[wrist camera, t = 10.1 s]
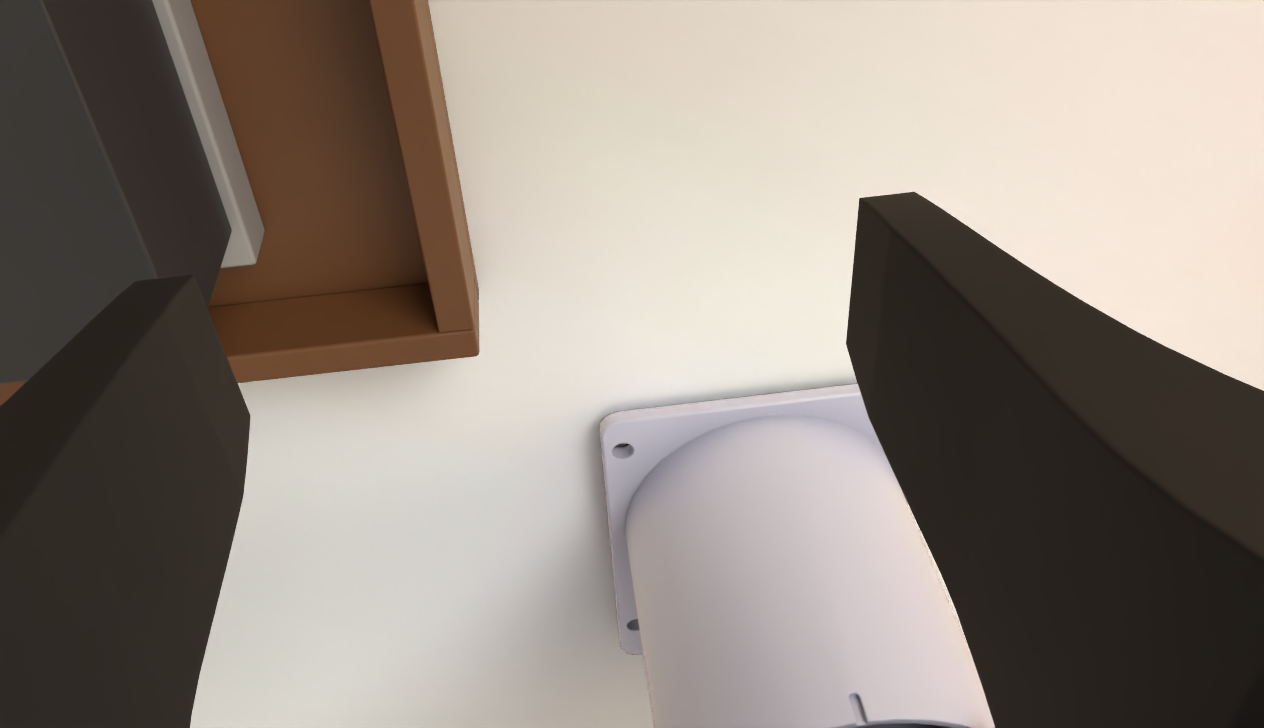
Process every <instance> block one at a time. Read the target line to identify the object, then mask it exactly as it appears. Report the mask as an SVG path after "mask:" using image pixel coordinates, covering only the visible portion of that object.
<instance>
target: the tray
mask: <svg viewBox="0 0 1264 728" xmlns="http://www.w3.org/2000/svg"><path fill="white" fill-rule="evenodd" d="M190 1H191V4H192V7H193V10H194V13H195V16H196V19H197V23H198V26H199V29H200V32H201V35H202V38H203V41H204V44H205V47H206V50H207V53H208V56H209V60H210V63H211V66H212V69H213V72H214V75H215V78H216V81H217V84H218V87H219V90H220V94H221V97H222V100H223V103H224V106H225V109H226V112H227V115H228V118H229V121H230V124H231V128H232V131H233V134H234V137H235V140H236V143H237V146H238V149H239V152H240V155H241V158H242V161H243V165H244V168H245V171H246V174H247V177H248V180H249V183H250V186H251V189H252V192H253V195H254V199H255V202H256V205H257V208H258V211H259V214H260V217H261V220H262V223H263V226H264V229H265V231H264V235H263V239H262V243H261V247H260V250H259V254H258V258H257V262H256V263H255V264H253V265H246V266H236V267H227V268H220V271H219V275H218V278H217V281H216V284H215V287H214V291H213V294H212V297H211V300H210V304H209V307H208V311H209V314H210V316H211V319H212V321H213V324H214V326H215V329H216V331H217V334H218V336H219V339H220V341H221V344H222V346H223V349H224V351H225V354H226V356H227V359H228V361H229V364H230V366H231V369H232V371H233V374H234V376H235V379H236V381H237V383H242V382H251V381H260V380H269V379H278V378H286V377H295V376H304V375H313V374H322V373H331V372H340V371H349V370H358V369H366V368H375V367H384V366H393V365H402V364H411V363H420V362H429V361H438V360H446V359H455V358H464V357H473V356H477V355H478V354H479V302H478V300H479V289H478V283H477V277H476V272H475V266H474V260H473V255H472V249H471V243H470V238H469V232H468V226H467V221H466V215H465V209H464V203H463V198H462V192H461V186H460V181H459V175H458V169H457V164H456V158H455V152H454V147H453V141H452V135H451V130H450V124H449V118H448V113H447V107H446V101H445V96H444V90H443V84H442V78H441V73H440V67H439V61H438V56H437V50H436V44H435V39H434V33H433V27H432V22H431V16H430V10H429V5H428V0H190ZM26 382H27V381H21V382H12V383H3V384H0V406H1V405H2V404H3V403H4V402H5V401H7V400H8V399H9V398H10V397H11V396H12V395H13V394H14V393H15V392H16V391H17V390H18V389H19V388H21V387H22V386H23V385H24V384H25V383H26Z"/></svg>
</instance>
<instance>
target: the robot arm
mask: <svg viewBox="0 0 1264 728" xmlns="http://www.w3.org/2000/svg"><path fill="white" fill-rule="evenodd" d="M846 345H847V348H848V352H849V355H850V359H851V362H852V365H853V369H854V372H855V376H856V379H857V383H858V384H850V385H842V386H833V387H824V388H816V389H807V390H799V391H790V392H781V393H773V394H764V395H756V396H747V397H739V398H730V399H721V400H713V401H704V402H696V403H687V404H678V405H670V406H661V407H653V408H644V409H635V410H627V411H619V412H615V413H611V414H609V415H608V416H606V417H605V418H604V419H603V420H602V422H601V423H600V439H601V450H602V461H603V471H604V482H605V492H606V503H607V514H608V524H609V535H610V545H611V556H612V567H613V577H614V588H615V598H616V609H617V620H618V630H619V640H620V647H621V649H622V650H623V651H624V652H626V653H628V654H632V655H638V654H643V655H644V662H645V669H646V675H647V682H648V689H649V696H650V702H651V709H652V716H653V722H654V728H1264V391H1262V390H1260V389H1258V388H1255V387H1253V386H1251V385H1248V384H1246V383H1243V382H1241V381H1239V380H1236V379H1234V378H1232V377H1229V376H1227V375H1225V374H1223V373H1220V372H1218V371H1216V370H1214V369H1212V368H1210V367H1208V366H1206V365H1203V364H1201V363H1199V362H1197V361H1195V360H1193V359H1191V358H1189V357H1187V356H1184V355H1182V354H1180V353H1178V352H1176V351H1174V350H1172V349H1170V348H1167V347H1165V346H1163V345H1161V344H1159V343H1158V342H1156V341H1154V340H1152V339H1150V338H1148V337H1146V336H1144V335H1142V334H1140V333H1138V332H1136V331H1134V330H1133V329H1131V328H1129V327H1127V326H1126V325H1124V324H1122V323H1120V322H1118V321H1117V320H1115V319H1113V318H1111V317H1110V316H1108V315H1106V314H1104V313H1103V312H1101V311H1099V310H1097V309H1096V308H1094V307H1092V306H1090V305H1089V304H1087V303H1085V302H1083V301H1082V300H1080V299H1078V298H1077V297H1075V296H1073V295H1072V294H1070V293H1068V292H1067V291H1065V290H1064V289H1062V288H1060V287H1059V286H1057V285H1055V284H1054V283H1052V282H1051V281H1049V280H1048V279H1046V278H1044V277H1043V276H1041V275H1040V274H1038V273H1037V272H1035V271H1033V270H1032V269H1030V268H1029V267H1027V266H1026V265H1024V264H1023V263H1021V262H1020V261H1018V260H1017V259H1015V258H1014V257H1012V256H1011V255H1009V254H1008V253H1006V252H1005V251H1003V250H1002V249H1000V248H999V247H997V246H996V245H994V244H993V243H991V242H990V241H988V240H987V239H985V238H984V237H982V236H981V235H979V234H978V233H977V232H975V231H974V230H972V229H971V228H969V227H968V226H966V225H965V224H963V223H962V222H960V221H959V220H957V219H956V218H954V217H953V216H951V215H950V214H949V213H947V212H946V211H944V210H943V209H941V208H940V207H938V206H936V205H935V204H933V203H932V202H930V201H929V200H927V199H925V198H924V197H922V196H920V195H919V194H917V193H915V192H909V193H900V194H892V195H883V196H874V197H865V198H860V199H859V210H858V221H857V231H856V242H855V253H854V264H853V275H852V286H851V297H850V307H849V318H848V329H847V340H846ZM249 428H250V414H249V411H248V409H247V406H246V404H245V401H244V399H243V396H242V394H241V391H240V389H239V386H238V384H237V381H236V379H235V376H234V374H233V371H232V369H231V366H230V364H229V361H228V359H227V356H226V354H225V351H224V349H223V346H222V344H221V341H220V339H219V336H218V334H217V331H216V329H215V326H214V324H213V321H212V319H211V316H210V314H209V311H208V309H207V306H206V304H205V301H204V299H203V296H202V294H201V291H200V289H199V286H198V284H197V281H196V279H195V276H194V274H193V275H184V276H175V277H167V278H158V279H149V280H141V281H135V282H134V283H133V284H132V285H130V286H129V287H128V288H127V289H125V290H124V291H123V292H122V293H121V294H119V295H118V296H117V297H116V298H115V299H114V300H113V301H112V302H111V303H109V304H108V305H107V306H106V307H105V308H104V309H103V310H102V311H101V312H100V313H99V314H98V315H96V316H95V317H94V318H93V319H92V320H91V321H90V322H89V323H88V324H87V325H86V326H85V327H84V328H83V329H82V330H81V331H80V332H79V333H78V334H77V335H75V336H74V337H73V338H72V339H71V340H70V341H69V342H68V343H67V344H66V345H65V346H64V347H63V348H62V349H61V350H60V351H59V352H58V353H57V354H56V355H55V356H53V357H52V358H51V359H50V360H49V361H48V362H47V363H46V364H45V365H44V366H43V367H42V368H41V369H40V370H39V371H38V372H36V373H35V374H34V375H33V376H32V377H31V378H30V379H29V380H28V381H27V382H26V383H25V384H24V385H23V386H22V387H21V388H19V389H18V390H17V391H16V392H15V393H14V394H13V395H12V396H11V397H10V398H9V399H8V400H7V401H5V402H4V403H3V404H2V405H1V406H0V728H190V722H191V715H192V709H193V704H194V699H195V694H196V689H197V684H198V679H199V674H200V670H201V666H202V662H203V658H204V654H205V650H206V646H207V642H208V638H209V634H210V630H211V626H212V622H213V618H214V614H215V610H216V606H217V602H218V598H219V594H220V590H221V586H222V582H223V578H224V574H225V570H226V566H227V562H228V558H229V554H230V550H231V545H232V541H233V537H234V533H235V529H236V525H237V520H238V516H239V512H240V507H241V503H242V499H243V493H244V483H245V474H246V465H247V454H248V441H249ZM622 443H624V444H629V445H627V446H625V447H622V448H619V447H615V446H616V445H619V444H622ZM908 504H909V506H910V509H911V511H912V513H913V515H914V517H915V519H916V521H917V523H918V526H919V528H920V530H921V532H922V534H923V536H924V538H925V540H926V543H927V545H928V547H929V549H930V551H931V553H932V555H933V557H934V560H935V562H936V564H937V566H938V568H939V570H940V572H941V575H942V577H943V579H944V582H945V584H946V587H947V589H948V591H949V594H950V596H951V599H952V601H953V604H954V606H955V608H956V611H957V614H958V617H959V620H960V623H961V626H962V629H963V632H964V635H965V637H966V640H967V643H968V645H967V643H966V640H965V638H964V636H963V633H962V631H961V629H960V626H959V624H958V622H957V619H956V617H955V615H954V612H953V610H952V608H951V605H950V603H949V601H948V598H947V596H946V594H945V591H944V589H943V586H942V584H941V582H940V579H939V577H938V575H937V572H936V570H935V568H934V565H933V563H932V561H931V558H930V556H929V554H928V551H927V549H926V547H925V544H924V542H923V540H922V537H921V535H920V533H919V530H918V528H917V526H916V523H915V521H914V518H913V516H912V514H911V511H910V509H909V507H908ZM968 646H969V647H968ZM969 649H970V650H969Z"/></svg>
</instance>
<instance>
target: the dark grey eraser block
mask: <svg viewBox="0 0 1264 728" xmlns="http://www.w3.org/2000/svg"><path fill="white" fill-rule="evenodd" d="M264 231H265V229H264V226H263V223H262V220H261V217H260V214H259V211H258V208H257V205H256V202H255V199H254V195H253V192H252V189H251V186H250V183H249V180H248V177H247V174H246V171H245V168H244V165H243V161H242V158H241V155H240V152H239V149H238V146H237V143H236V140H235V137H234V134H233V131H232V128H231V124H230V121H229V118H228V115H227V112H226V109H225V106H224V103H223V100H222V97H221V94H220V90H219V87H218V84H217V81H216V78H215V75H214V72H213V69H212V66H211V63H210V60H209V56H208V53H207V50H206V47H205V44H204V41H203V38H202V35H201V32H200V29H199V26H198V23H197V19H196V16H195V13H194V10H193V7H192V4H191V1H190V0H0V384H3V383H12V382H21V381H28V380H29V379H30V378H31V377H32V376H33V375H34V374H35V373H36V372H38V371H39V370H40V369H41V368H42V367H43V366H44V365H45V364H46V363H47V362H48V361H49V360H50V359H51V358H52V357H53V356H55V355H56V354H57V353H58V352H59V351H60V350H61V349H62V348H63V347H64V346H65V345H66V344H67V343H68V342H69V341H70V340H71V339H72V338H73V337H74V336H75V335H77V334H78V333H79V332H80V331H81V330H82V329H83V328H84V327H85V326H86V325H87V324H88V323H89V322H90V321H91V320H92V319H93V318H94V317H95V316H96V315H98V314H99V313H100V312H101V311H102V310H103V309H104V308H105V307H106V306H107V305H108V304H109V303H111V302H112V301H113V300H114V299H115V298H116V297H117V296H118V295H119V294H121V293H122V292H123V291H124V290H125V289H127V288H128V287H129V286H130V285H132V284H133V283H134V282H135V281H141V280H149V279H158V278H167V277H175V276H184V275H193V274H194V276H195V279H196V281H197V284H198V286H199V289H200V291H201V294H202V296H203V299H204V301H205V304H206V306H207V309H208V307H209V304H210V300H211V297H212V294H213V291H214V287H215V284H216V281H217V278H218V275H219V271H220V268H227V267H236V266H246V265H253V264H255V263H256V262H257V258H258V254H259V250H260V247H261V243H262V239H263V235H264Z"/></svg>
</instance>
